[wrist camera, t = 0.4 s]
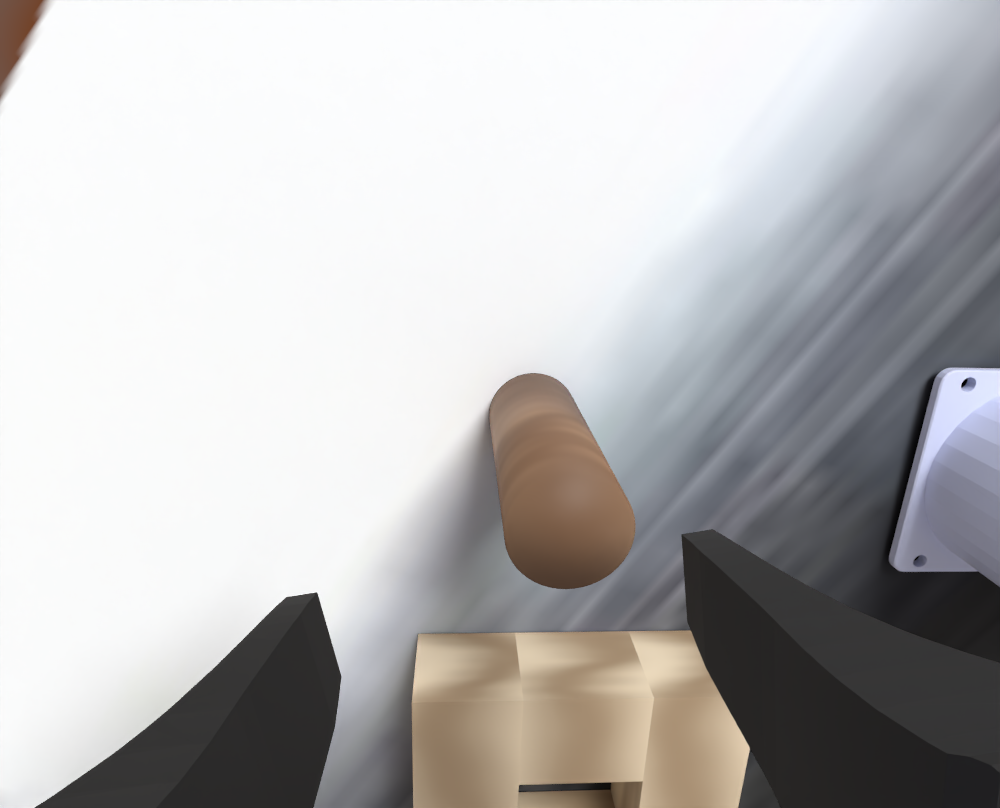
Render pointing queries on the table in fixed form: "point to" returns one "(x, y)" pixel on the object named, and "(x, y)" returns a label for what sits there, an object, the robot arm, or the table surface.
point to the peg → (555, 487)
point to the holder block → (571, 722)
